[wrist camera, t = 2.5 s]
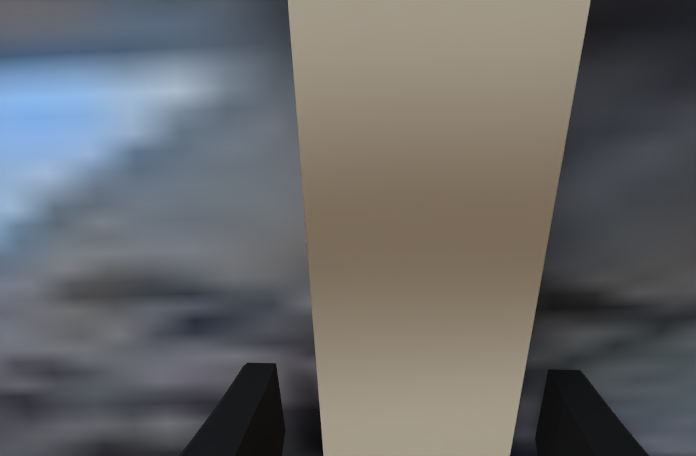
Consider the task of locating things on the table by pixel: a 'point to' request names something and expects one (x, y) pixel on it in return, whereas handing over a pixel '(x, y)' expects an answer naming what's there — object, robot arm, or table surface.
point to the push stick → (428, 209)
